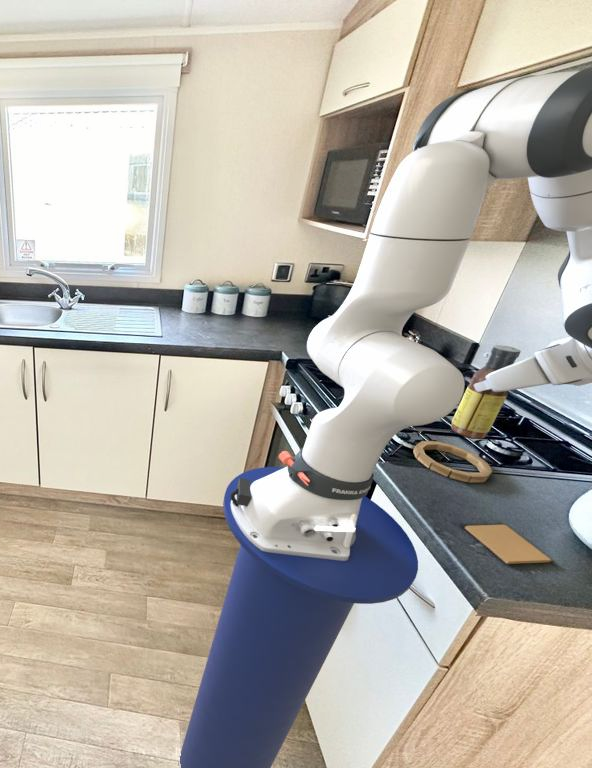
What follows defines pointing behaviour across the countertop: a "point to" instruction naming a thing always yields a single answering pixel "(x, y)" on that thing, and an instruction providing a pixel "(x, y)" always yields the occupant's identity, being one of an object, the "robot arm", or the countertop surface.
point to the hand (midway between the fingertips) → (486, 385)
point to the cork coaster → (507, 544)
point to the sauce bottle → (483, 397)
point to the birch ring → (446, 471)
